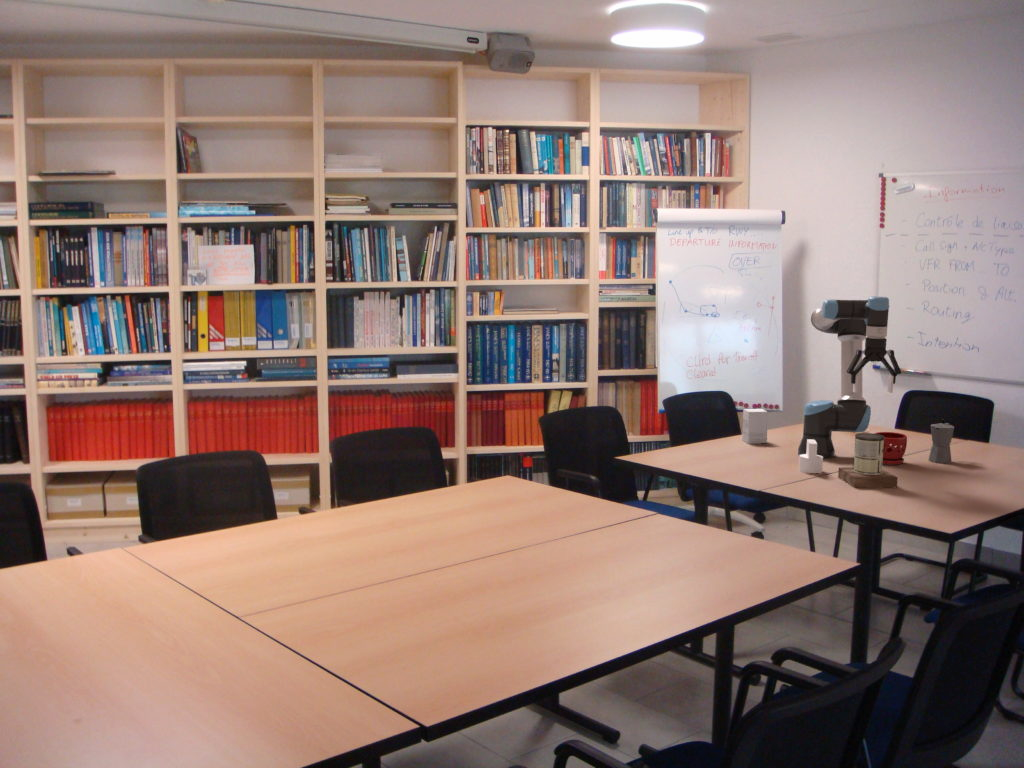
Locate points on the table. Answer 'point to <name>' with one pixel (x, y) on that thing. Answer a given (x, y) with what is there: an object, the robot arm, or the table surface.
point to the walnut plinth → (867, 478)
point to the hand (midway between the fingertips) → (872, 392)
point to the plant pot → (893, 447)
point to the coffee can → (868, 453)
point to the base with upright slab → (811, 459)
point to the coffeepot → (941, 442)
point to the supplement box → (755, 426)
